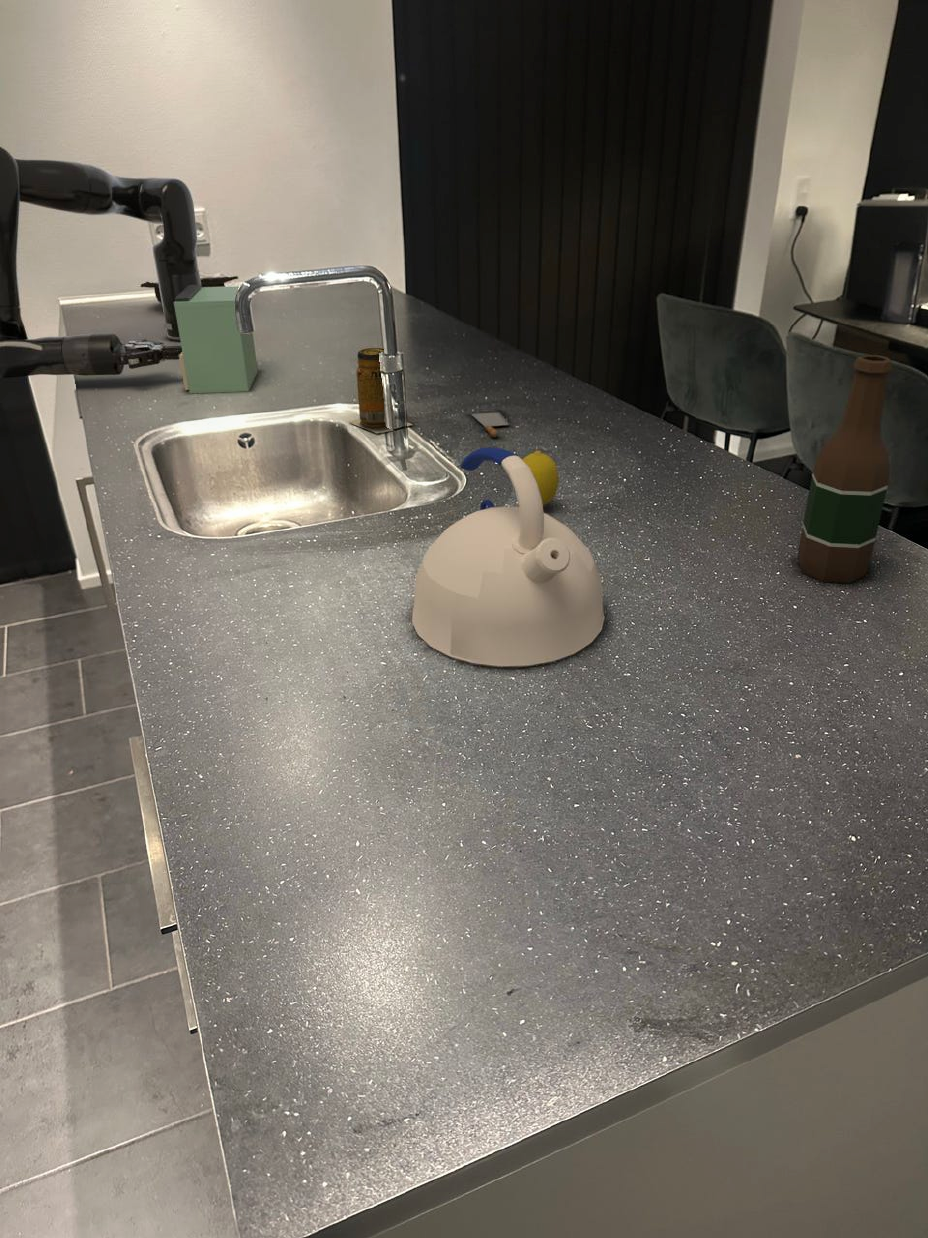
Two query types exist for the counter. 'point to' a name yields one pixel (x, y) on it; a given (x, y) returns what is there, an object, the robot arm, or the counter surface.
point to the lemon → (543, 474)
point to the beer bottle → (849, 483)
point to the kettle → (508, 581)
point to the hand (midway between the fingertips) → (185, 352)
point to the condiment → (370, 392)
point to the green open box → (214, 341)
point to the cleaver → (491, 421)
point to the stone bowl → (204, 283)
